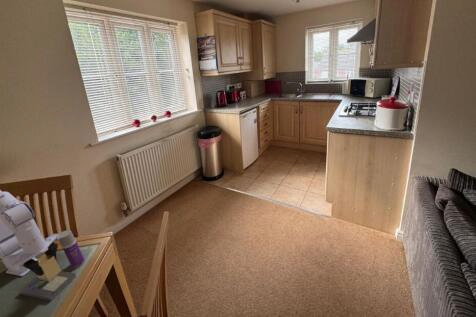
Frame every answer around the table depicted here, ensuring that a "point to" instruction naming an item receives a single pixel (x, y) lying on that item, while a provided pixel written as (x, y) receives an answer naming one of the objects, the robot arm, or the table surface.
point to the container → (71, 248)
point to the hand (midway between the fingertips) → (47, 268)
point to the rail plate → (48, 286)
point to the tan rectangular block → (48, 267)
